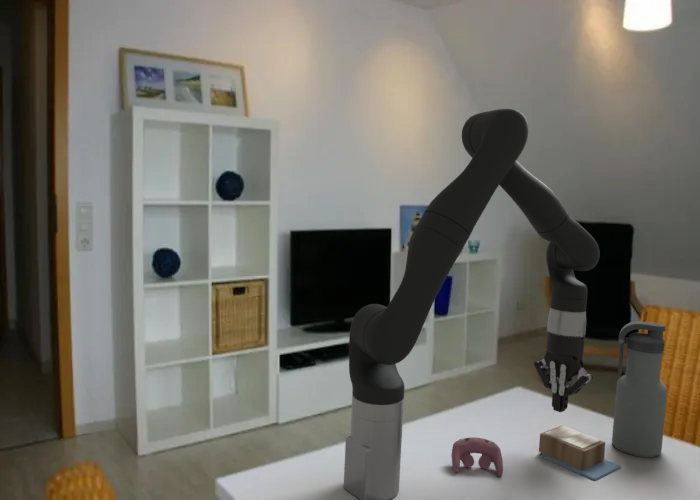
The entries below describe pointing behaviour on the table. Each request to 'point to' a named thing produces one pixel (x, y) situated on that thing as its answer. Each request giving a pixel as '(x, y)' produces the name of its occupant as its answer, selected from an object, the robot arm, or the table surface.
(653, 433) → the water bottle
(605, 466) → the rubber mat
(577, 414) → the table surface
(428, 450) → the table surface
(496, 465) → the video game controller
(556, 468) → the table surface
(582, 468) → the wooden block
